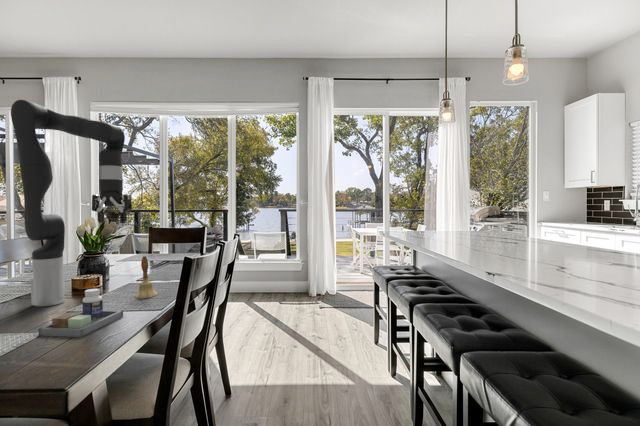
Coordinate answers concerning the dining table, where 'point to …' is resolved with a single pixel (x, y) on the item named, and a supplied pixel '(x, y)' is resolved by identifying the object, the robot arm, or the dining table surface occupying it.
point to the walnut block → (61, 321)
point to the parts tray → (70, 332)
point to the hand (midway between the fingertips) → (112, 222)
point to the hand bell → (145, 282)
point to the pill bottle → (93, 304)
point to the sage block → (79, 321)
